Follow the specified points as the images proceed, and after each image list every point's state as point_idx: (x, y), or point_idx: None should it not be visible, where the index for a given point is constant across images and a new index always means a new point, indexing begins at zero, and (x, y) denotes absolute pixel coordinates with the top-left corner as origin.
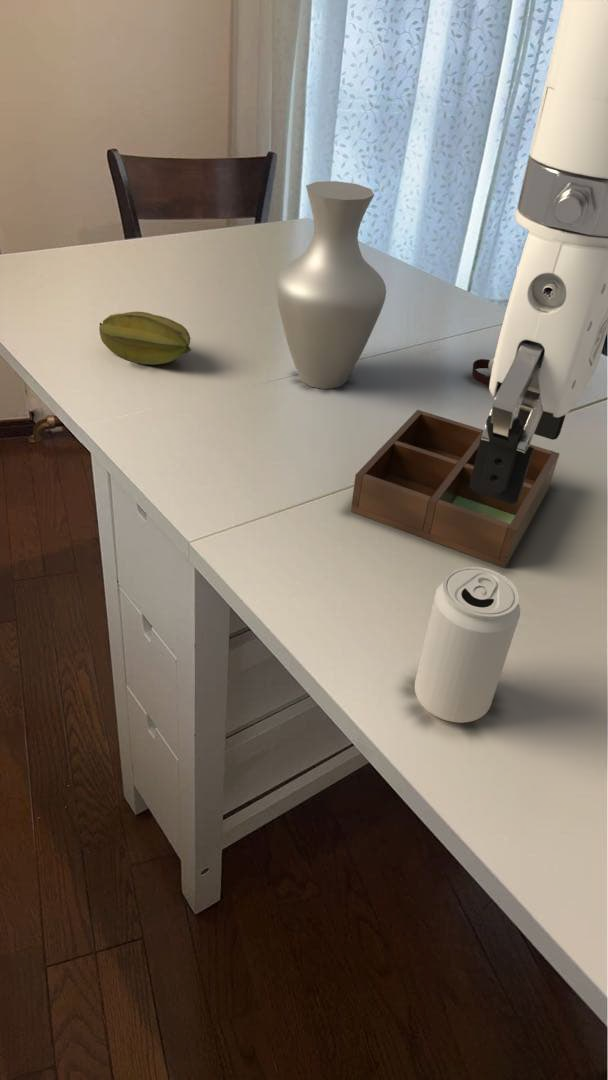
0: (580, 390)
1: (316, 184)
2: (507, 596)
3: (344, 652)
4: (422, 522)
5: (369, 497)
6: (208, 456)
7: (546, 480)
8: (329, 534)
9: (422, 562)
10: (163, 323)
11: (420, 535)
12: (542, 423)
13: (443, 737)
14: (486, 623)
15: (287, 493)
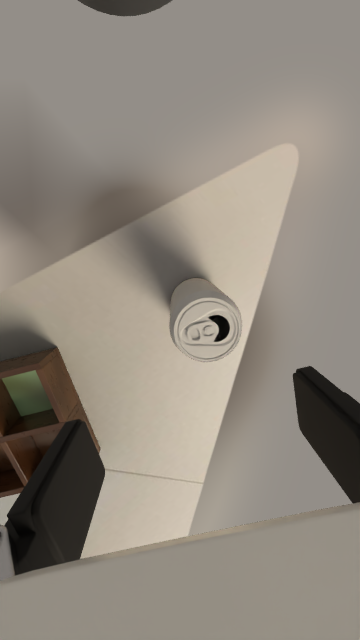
0: (290, 576)
1: None
2: (196, 310)
3: (211, 368)
4: (77, 413)
5: None
6: (133, 534)
7: None
8: (131, 441)
9: (102, 387)
10: None
11: (81, 405)
12: (84, 458)
13: (224, 287)
14: (232, 306)
15: (120, 483)
